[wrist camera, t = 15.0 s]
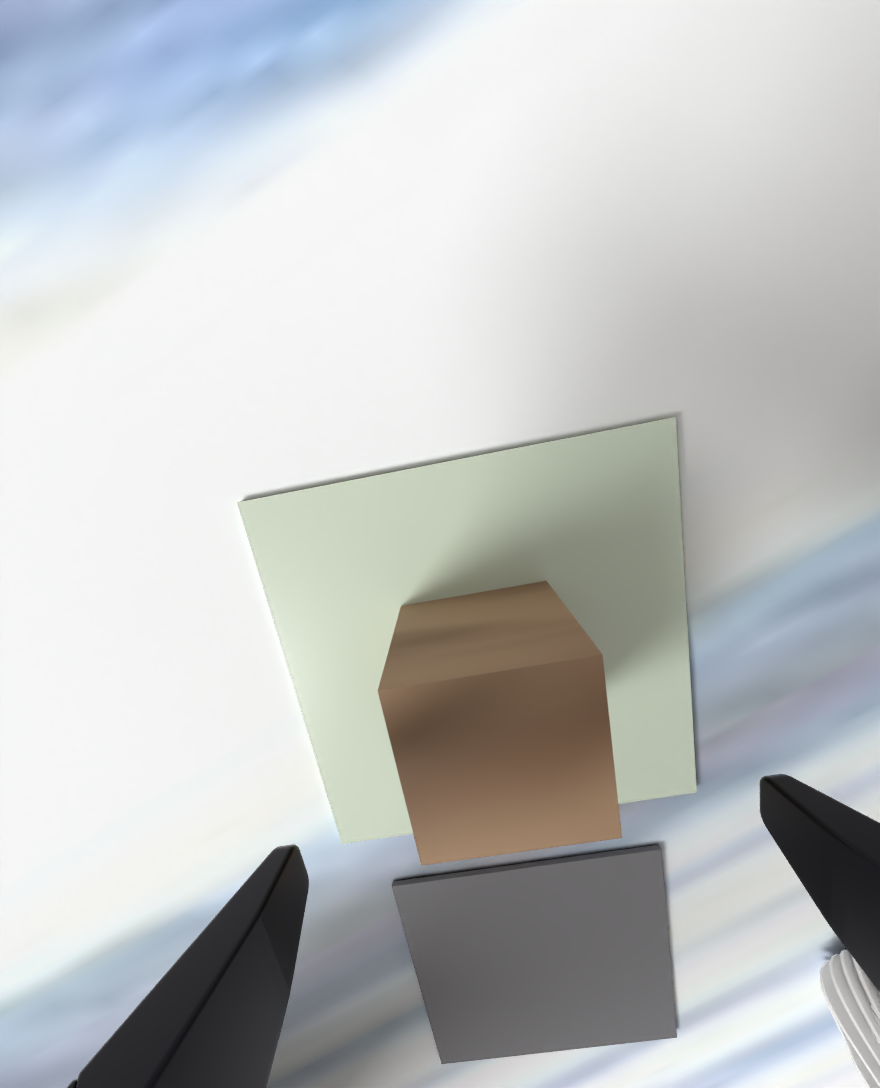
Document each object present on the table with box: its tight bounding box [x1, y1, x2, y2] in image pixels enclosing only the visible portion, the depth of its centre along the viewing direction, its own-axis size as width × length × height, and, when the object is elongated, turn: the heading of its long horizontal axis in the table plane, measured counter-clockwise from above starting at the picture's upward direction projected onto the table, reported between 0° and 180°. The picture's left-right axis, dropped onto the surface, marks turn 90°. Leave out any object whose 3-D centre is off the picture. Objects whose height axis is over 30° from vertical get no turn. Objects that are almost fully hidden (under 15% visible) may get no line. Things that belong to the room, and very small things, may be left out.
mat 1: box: [237, 417, 697, 844], centre depth 14 cm, size 14×14×1 cm
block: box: [378, 581, 622, 865], centre depth 12 cm, size 5×5×5 cm
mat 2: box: [392, 845, 677, 1064], centre depth 18 cm, size 11×11×1 cm
